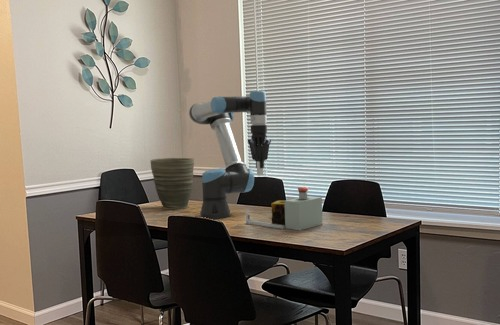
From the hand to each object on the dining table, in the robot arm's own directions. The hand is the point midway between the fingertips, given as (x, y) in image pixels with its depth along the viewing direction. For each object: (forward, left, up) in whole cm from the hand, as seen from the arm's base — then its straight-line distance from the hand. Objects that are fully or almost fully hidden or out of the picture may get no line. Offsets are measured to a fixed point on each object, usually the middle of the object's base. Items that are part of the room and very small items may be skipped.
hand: (260, 175), depth 264 cm
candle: (+15, 0, -22) cm, 26 cm away
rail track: (+10, 0, -21) cm, 24 cm away
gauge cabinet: (+25, 0, -21) cm, 33 cm away
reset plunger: (+25, 0, -12) cm, 28 cm away
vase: (-68, +2, -22) cm, 71 cm away
